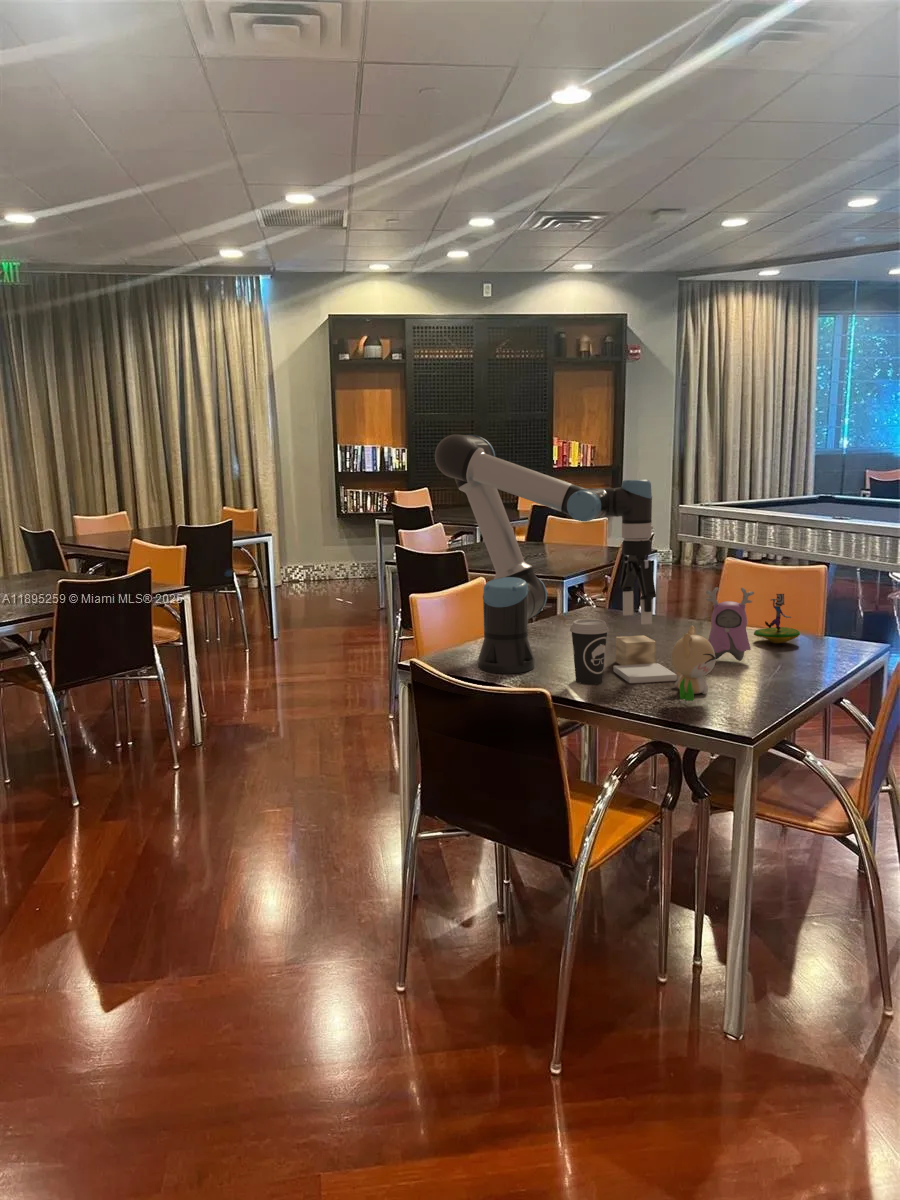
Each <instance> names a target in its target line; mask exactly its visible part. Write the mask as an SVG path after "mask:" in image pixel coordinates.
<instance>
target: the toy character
mask: <svg viewBox="0 0 900 1200" xmlns="http://www.w3.org/2000/svg"><path fill="white" fill-rule="evenodd" d="M719 590H720V589H719V587H718V586H716V587H714V588H713V590H712V591H710V590H705V594H706V595H708V596H710V597H709V598H707V597H706V598H705V599H706V601H707V602H712V607H713V611H712V613H711V617H710V625H711V626H710V632H709V635H708V638H707V640H708V641H709V642H710V643H711V645H712V647H713V649H714V651H715V653H716V654H717V656H715V658H716V660H719V659H720V658H721V657H722V656H723V655H725V654H726V653H729V654H731V655H732V656H733V657H734V658H735V659H736V660H737V661H738V662H740V661H742V660H743V658H744V656H745V652H747V651H750V650H752V649H751V645H750V640H749V638H748V632H747V624H748V618H747V617H748V616H747V612H746V610H745V609H746V604H751V603H753V600H751V599H749V597H750V596H753V595H754V594H755V591H748V592H747V590H746V589H745V588H744V587H740V592H742V599H741V601H740V603H739V602H738V601H737V602H736V601H731V600H729V601H728V600H727V601H722V602H720V603H719V601H718V600H717V592H718V591H719Z"/></svg>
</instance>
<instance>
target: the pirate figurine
mask: <svg viewBox="0 0 900 1200" xmlns="http://www.w3.org/2000/svg"><path fill="white" fill-rule="evenodd" d="M775 595H776V598H771V599H770V601H772V606H773V607H772V608H774V610H775V611H776V612H775V615H776V616H775V618H774V619H773V620H771V622H770V623H769V622H768V621H766V620H765V621H764V625H766V626H767V627H766V628H759V629H756V630H755V631H754V632H753V636H755V637H758V638H759V637H760V638H764V639H766V640H768V641H769V642H770V643H773V644H783V643H787V642H791V641H792V640H794V639H796V638H798V637H799V636H801V633H800V631H799V630H798V629H796V628H792V627H791V628H790V627H785V626H784V627H783V626H781V625H780V624H781V616H783V618H785V619H788V618H790V619H791V618H792V616H788V615H785V614H784V613H783V611H782V609H781V607H783V606H784V605H785V593H776V594H775ZM773 626H775V627H773Z"/></svg>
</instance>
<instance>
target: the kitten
mask: <svg viewBox="0 0 900 1200" xmlns="http://www.w3.org/2000/svg"><path fill="white" fill-rule="evenodd" d="M695 631H696V628H695V626H694V625H690V626H689V629H688V631H687V633H684V634H683V637H681V638H680V639H678V641H676V643H675V644H674V646H673V648H672V651H671V655H670V656H671V657H670V661H671V666H672V667H673V669H674V671H675V672H674V673H675V674H676V675H677V687H678V689H679V699H680V700H684V702H686V701H691V702H693V701H694V700H695V695H697V694H702V695H704V696H705V695H707V694H708V690H709V687H708V683H707V681H706V679H705V677H704V676H706V675H708V674H709V673H711V671H712V670H713V669H714V667H715V666H716V665H715V664H716V660H717V659H716V658H715V656H717V654H716V653H715V651H714V649H713V647H712V645H711V643H710V642H709V641H708V638H705V637H704V636H702V635H699V634H698V635H697V634H696V633H695Z"/></svg>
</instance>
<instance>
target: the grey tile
mask: <svg viewBox="0 0 900 1200" xmlns="http://www.w3.org/2000/svg"><path fill="white" fill-rule="evenodd" d="M613 672H614V673H615V674H616V675H618V677H620V678H622V679H623V680H625V681H626V682H627V683H628V684H641V683H642V684H643V683H655V682H657V683H659V682H675V681H677V682H678V678H677V675H676V672H673V671H671V670H670V669H668V668H667V667H665V666H663V665H662V664H660V663H658V662H657V663H656V662H655V663H653V664H635V665H620V664H618V665H613Z"/></svg>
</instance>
